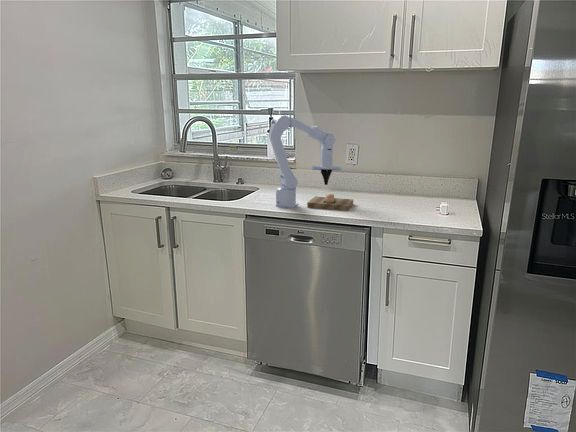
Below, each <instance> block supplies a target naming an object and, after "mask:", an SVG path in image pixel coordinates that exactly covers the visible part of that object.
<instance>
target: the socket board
mask: <svg viewBox="0 0 576 432" xmlns="http://www.w3.org/2000/svg"><path fill="white" fill-rule="evenodd" d="M353 205H354V198H353V199H352V198H350V199H349V198H339V197H337V198H336V197H334V203H326V196H324V197H323V196H314V197H312V198H311V199H309V200H308V201H307V205H306V207H307V208H310V209H322V210H334V211H342V212H344V211H346V212H348V211H349V210H350V209H351V208H352V206H353Z"/></svg>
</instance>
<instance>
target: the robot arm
mask: <svg viewBox="0 0 576 432" xmlns="http://www.w3.org/2000/svg"><path fill="white" fill-rule="evenodd" d="M289 128H296V129H298V130H300V131H302V132H304V133H306V134H307V136H308V137H309V138H311V139H312V140H315V141H317V142H319V143H320V144H321V149H320V150H321V152H320V155H321V156H320V157H321V158H320V165H312V166H311V170H312V171H320V174H321V176H322V179H323V182H324V183H323V184H324V185H325V186H328V184H329V179H330V177H331V175H332V172H333V171H336V172H337V171H338V172H341V171H342V166H338V165H333V161H334V159H333V157H334V156H333V155H334V144H335V143H336V139H335V136H334V134H332V133H330V132H328V131H327V130H323V129H321V128H320V126H318V125H313V126H309V125H307V124H306V123H304V122H301V121H300V120H298V119H296V118H293V117H291V116H288V115H285V114H284V115H281V114H276V115H274V116H273V118H272V119H271V120H270V127H269V132H268V137H269V141H270V144H271V147H272V150H273V153H274V156H275V160H276V162H277V165H278V169H279V181H280V185H281V187H277V188H276V192H275V207H278V208H280V207H281V208H290V209H292V208H295V207H296V206H298V205H299V203H297V202H296V201H297V195H296V193H297V185H298V178H297V177H296V176H295V175H294V172H293V171H292V169H291V167H290V164H289V159H288V158H287V157H288V156H287V154H286V151H285V150H286V149H285V147H284V144H283V142H282V139H281V137H282V135H283V134H284V132H285V131H287V130H288V129H289Z"/></svg>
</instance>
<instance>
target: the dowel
mask: <svg viewBox="0 0 576 432" xmlns="http://www.w3.org/2000/svg"><path fill="white" fill-rule="evenodd" d="M325 197H326V203H334V198H335V194H334V193H333V194H332V193H328V194H325Z"/></svg>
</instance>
